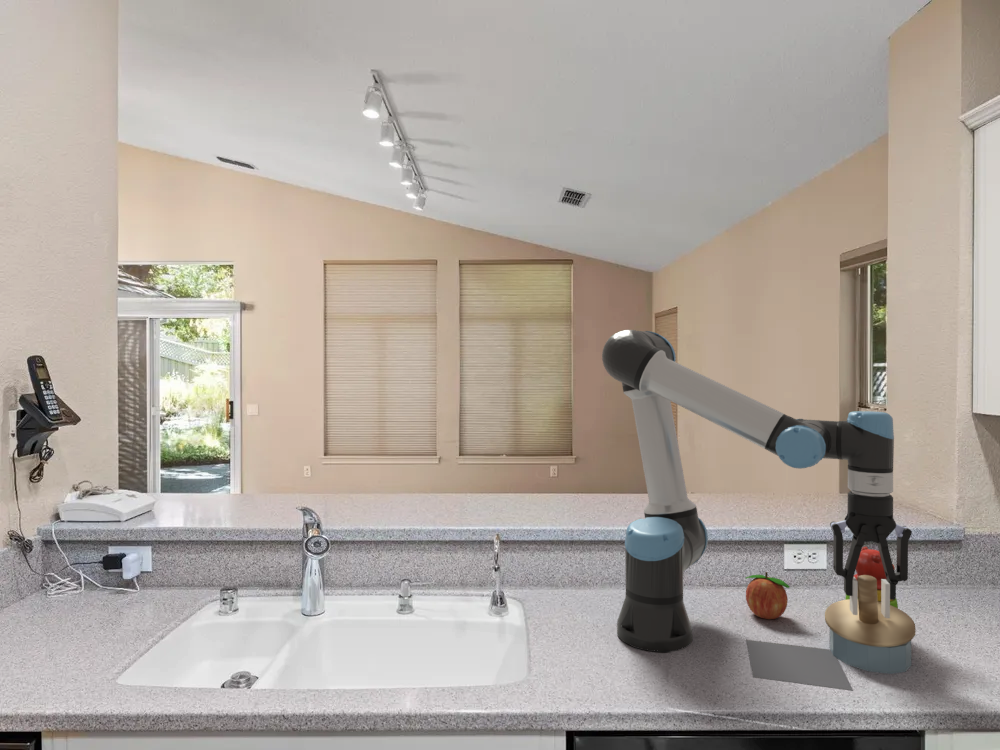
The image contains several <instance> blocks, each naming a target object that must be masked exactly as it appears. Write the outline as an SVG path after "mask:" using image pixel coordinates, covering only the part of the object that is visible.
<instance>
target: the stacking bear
mask: <svg viewBox="0 0 1000 750" xmlns="http://www.w3.org/2000/svg"><path fill="white" fill-rule="evenodd" d="M893 568H894V571H895V568H896V567H895V565H894V564H893ZM855 573H856V574H855ZM855 573H854V577H855V578H856V580H857V577H858V576H860V575H869V576H873V577H875V578H876V579H877V598H878V602H881V579H886V580H887V578H886V575H885V572H884V568H883V564H882V560H881V557H880V553H879V550H877V549H871V548H870V549H869V548H868V546H863V547H862V549H861V553H860V556H859V560H858V563H857V566H856V570H855ZM847 599H850V596H848V595H846V594H845V599H844V600H847ZM890 605H891V606H894V607H896V608H898V609H899V606H898V599H897V597H896V598H895V600H891V599H890Z"/></svg>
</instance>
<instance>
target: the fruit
mask: <svg viewBox="0 0 1000 750" xmlns="http://www.w3.org/2000/svg"><path fill="white" fill-rule="evenodd" d="M745 579H752V580H751V581H750V582H749V583H748V585H747V587H746V590H745V601H746V604H747V605H748V608H749V610H750V611H751V612H752V614H754V615H755V616H756V617H758V618H760V619H765V620H775V619H778V618H780V617H781V616H782V615H784V613H785V611H786V609H787V607H788V600H789V598H788V594H787V590H786V589H785V588H787V589H790V588H791V587H790V585H789V584H788V583H786V582H785V581H784V580H782V579H779V578H777V577H771V576H768V572H767V571H765V575H764V574H753V575H748V576H746V577H745Z"/></svg>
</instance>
